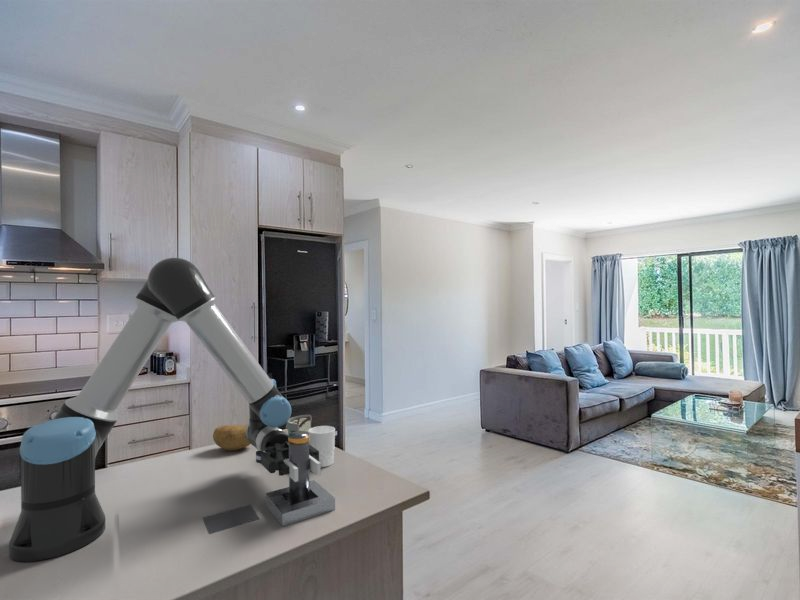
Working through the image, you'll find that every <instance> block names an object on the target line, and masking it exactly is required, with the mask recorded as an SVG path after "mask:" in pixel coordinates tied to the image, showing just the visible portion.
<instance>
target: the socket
mask: <svg viewBox="0 0 800 600" xmlns="http://www.w3.org/2000/svg"><path fill="white" fill-rule="evenodd" d="M309 481H310V500H307V501H303V502H300V503H297V504H293V505H290V504H289V486H287V487H284V488H280V489H277V490H272V491H270V492H265V493H264V495H265V498H264V499H265V507H267V508H268V509H269V511H270V512H271V514H272V516H274V517H275V518H276V520H277V521H278V522H279V524H280V525H281V527H285V526H288V525H292V524H295V523H297V522H301V521H304V520H306V519H309V518H314V517H317V516H320V515H323V514H326V513H328V512H332V511H335V510H336V497H334V496H333V495H332V494H331V493H330V492H329V491H327V490H326V489H325V488H324V487H323V486H322V485H321V484H319V483H318V482H317V481H316V480H315V479H313V480H309Z"/></svg>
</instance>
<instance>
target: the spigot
mask: <svg viewBox="0 0 800 600" xmlns="http://www.w3.org/2000/svg"><path fill="white" fill-rule="evenodd" d="M288 443H289V459H288V460H289V461H290V462H291V463H292V464H294V465H295V466H296V467H297V468H298V481H297V482H294V481H293V480H292V479H291V478H290V477H289V476H288V483H289V484H288V485H289V486H288V487H289V504H290V505H293V504H297V503H300V502H303V501H307V500H310V481H311V480H310V470H309V432H307V431H296V432H292V433H290V434H289V436H288Z"/></svg>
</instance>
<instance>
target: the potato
mask: <svg viewBox="0 0 800 600" xmlns="http://www.w3.org/2000/svg"><path fill="white" fill-rule="evenodd" d="M247 427H248V425H242V424H230V425H227V424H226V425H220V426H218V427H215V429H214V431H213V434H212V439H213V442H215V443H214V444H215V445H216V446H218V447H219V448H220V449H223V450H226V451H233V452H234V451H238V450H242V449H244V448H247V447H249V446H250V445H252V444H251V443H250V442H249V440H248V438H247V436H246V430H247Z"/></svg>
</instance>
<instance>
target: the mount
mask: <svg viewBox="0 0 800 600" xmlns="http://www.w3.org/2000/svg"><path fill="white" fill-rule="evenodd" d="M202 520H203V523H204V524H205V527H206V529H207V532H208V534H209V535H210V534H214V533H217V532H221V531H224V530H227V529H231V528H234V527H237V526H241V525H244V524H247V523H251V522H254V521H257V520H260V517H259V515H258V514H257V512H256V511H255V510H254V509H253V506H251V504H247V505H243V506H240V507H236V508H233V509H229V510H226V511H222V512H218V513H215V514H214V513H213V514H211V515H207V516H203V517H202Z"/></svg>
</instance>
